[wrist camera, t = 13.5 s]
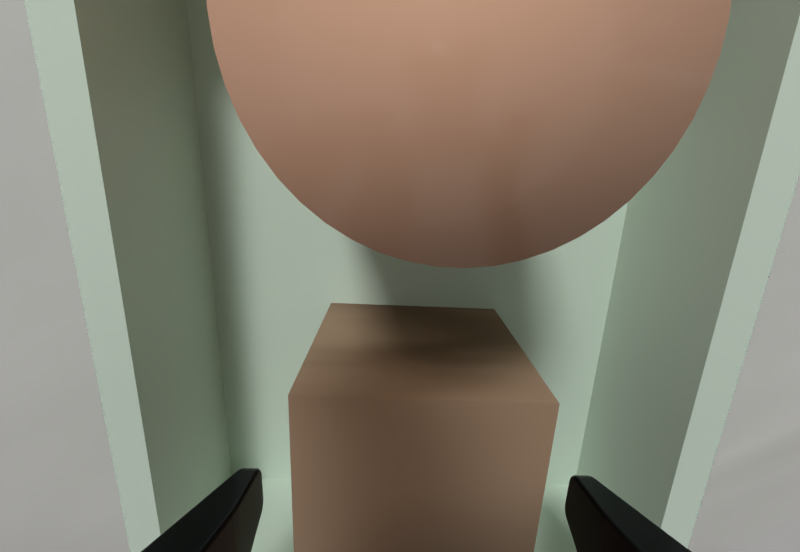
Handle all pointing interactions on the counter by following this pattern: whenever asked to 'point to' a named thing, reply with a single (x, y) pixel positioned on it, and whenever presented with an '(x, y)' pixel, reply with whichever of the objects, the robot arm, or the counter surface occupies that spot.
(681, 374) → the box
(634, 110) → the egg
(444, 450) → the walnut cube
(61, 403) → the counter surface
